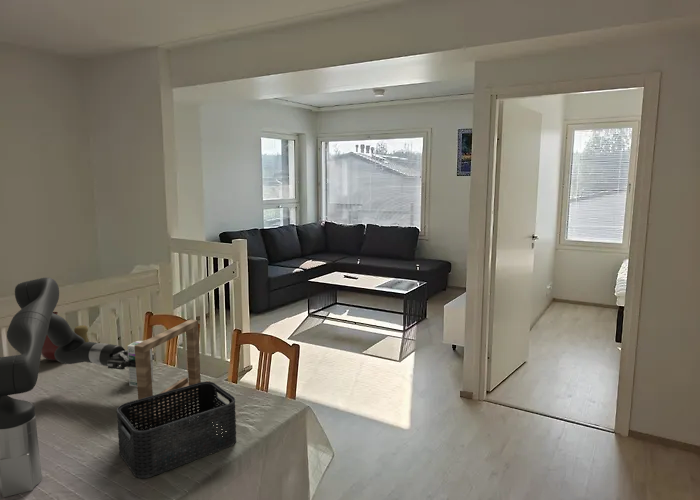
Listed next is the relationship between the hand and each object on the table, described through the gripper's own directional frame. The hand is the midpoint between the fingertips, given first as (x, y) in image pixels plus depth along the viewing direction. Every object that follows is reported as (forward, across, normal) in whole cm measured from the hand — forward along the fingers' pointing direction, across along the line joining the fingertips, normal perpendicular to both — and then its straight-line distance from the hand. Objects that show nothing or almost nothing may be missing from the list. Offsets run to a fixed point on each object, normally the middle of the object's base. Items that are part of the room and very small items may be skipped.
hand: (146, 361), depth 165 cm
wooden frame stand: (+10, 0, +13) cm, 17 cm away
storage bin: (+29, -22, +14) cm, 39 cm away
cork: (-59, +29, +15) cm, 67 cm away
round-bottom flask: (-60, +18, +15) cm, 64 cm away
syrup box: (-3, 0, +9) cm, 9 cm away
